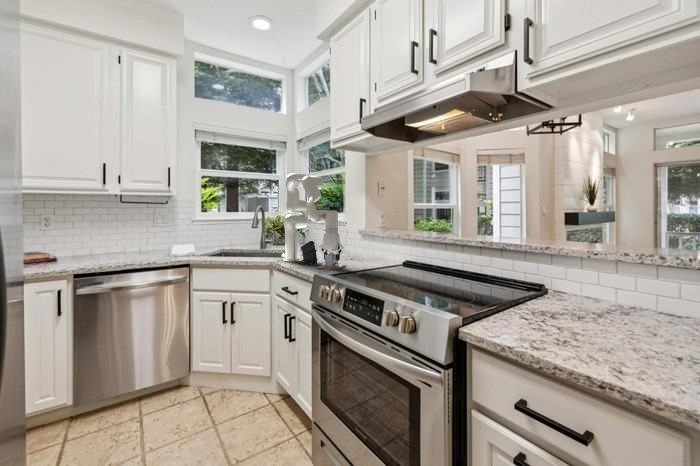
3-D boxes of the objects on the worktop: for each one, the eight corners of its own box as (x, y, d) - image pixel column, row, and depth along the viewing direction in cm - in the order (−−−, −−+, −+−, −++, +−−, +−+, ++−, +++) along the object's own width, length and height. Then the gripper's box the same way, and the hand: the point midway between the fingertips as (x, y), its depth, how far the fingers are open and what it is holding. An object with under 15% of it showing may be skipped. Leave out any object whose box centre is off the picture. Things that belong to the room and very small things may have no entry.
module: (325, 266, 198) (324, 253, 197) (331, 264, 204) (331, 251, 204) (332, 266, 196) (332, 253, 195) (338, 265, 202) (338, 252, 201)
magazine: (316, 262, 207) (309, 240, 210) (304, 269, 215) (298, 248, 219) (320, 262, 209) (314, 240, 213) (309, 268, 218) (302, 247, 222)
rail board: (317, 268, 196) (317, 264, 196) (329, 265, 209) (329, 261, 209) (334, 270, 191) (334, 265, 191) (346, 266, 203) (346, 262, 203)
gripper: (316, 230, 199) (316, 259, 200) (341, 231, 191) (341, 261, 192) (322, 230, 206) (322, 258, 207) (347, 231, 198) (347, 260, 199)
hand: (331, 259), depth 200 cm, fingers open, 7 cm apart
